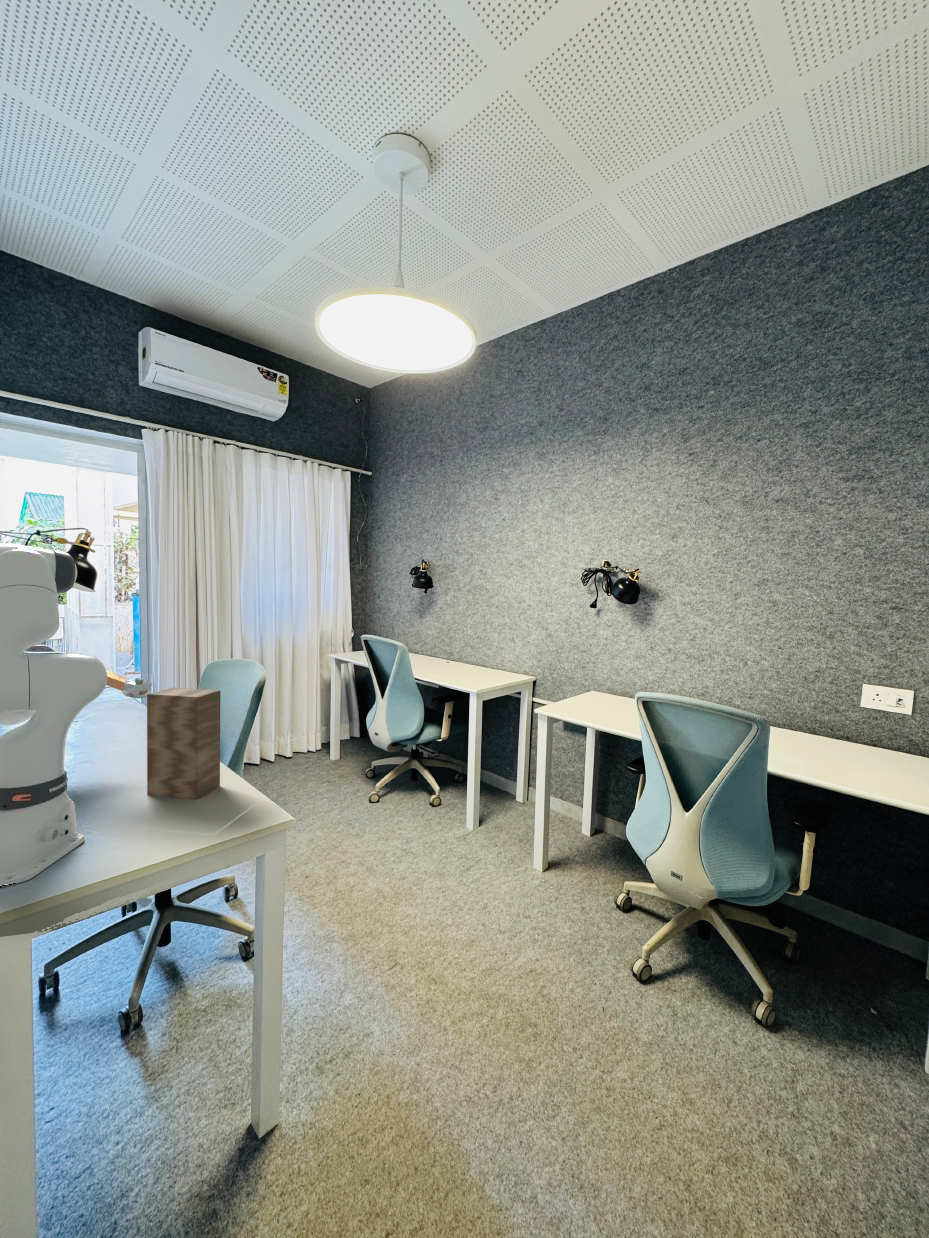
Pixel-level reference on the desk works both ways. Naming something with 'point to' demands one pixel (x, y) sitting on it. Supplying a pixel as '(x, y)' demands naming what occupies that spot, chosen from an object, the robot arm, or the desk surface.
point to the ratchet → (129, 685)
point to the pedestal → (183, 742)
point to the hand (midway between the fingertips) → (86, 666)
